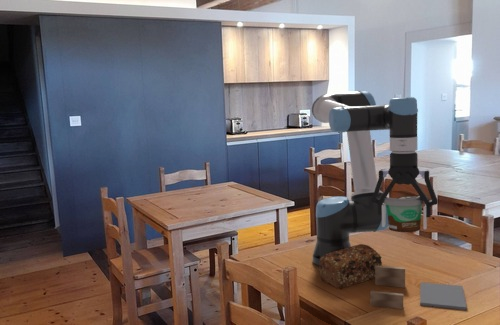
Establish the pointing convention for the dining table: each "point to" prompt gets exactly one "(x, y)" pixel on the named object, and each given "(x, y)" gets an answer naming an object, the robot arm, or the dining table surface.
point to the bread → (349, 265)
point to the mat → (442, 296)
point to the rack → (388, 278)
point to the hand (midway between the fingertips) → (404, 227)
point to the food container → (404, 213)
